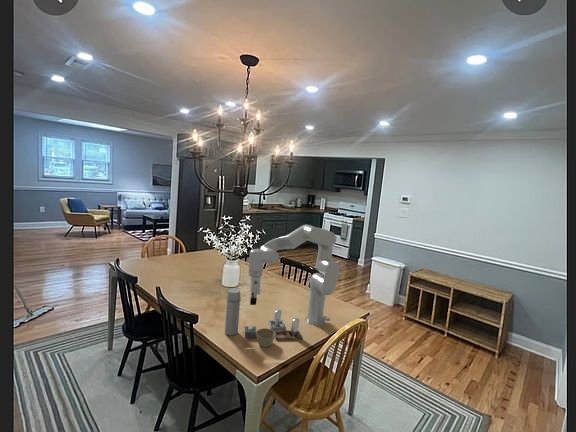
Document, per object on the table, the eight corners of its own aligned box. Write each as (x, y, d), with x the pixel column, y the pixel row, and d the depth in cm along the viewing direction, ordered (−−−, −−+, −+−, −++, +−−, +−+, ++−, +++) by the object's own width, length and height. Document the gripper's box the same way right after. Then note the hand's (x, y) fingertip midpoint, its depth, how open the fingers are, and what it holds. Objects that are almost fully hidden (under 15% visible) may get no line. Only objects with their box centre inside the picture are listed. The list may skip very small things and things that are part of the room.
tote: (282, 324, 186) (282, 320, 186) (284, 331, 178) (284, 327, 178) (268, 324, 184) (269, 320, 184) (270, 331, 177) (270, 327, 176)
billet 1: (279, 325, 184) (280, 309, 182) (280, 328, 180) (281, 312, 178) (272, 325, 183) (274, 309, 181) (273, 328, 179) (275, 312, 178)
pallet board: (298, 334, 176) (299, 330, 176) (301, 341, 169) (301, 337, 169) (273, 335, 173) (274, 330, 173) (275, 342, 166) (276, 337, 166)
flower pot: (269, 353, 156) (270, 340, 155) (251, 347, 159) (252, 334, 158) (277, 343, 165) (278, 331, 164) (260, 338, 168) (261, 326, 167)
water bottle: (221, 331, 172) (224, 289, 168) (234, 328, 176) (237, 286, 173) (229, 339, 164) (232, 295, 161) (242, 335, 169) (245, 293, 165)
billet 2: (296, 334, 174) (298, 317, 172) (298, 338, 170) (300, 321, 168) (289, 334, 173) (291, 317, 172) (291, 338, 169) (292, 321, 168)
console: (255, 333, 173) (255, 326, 173) (256, 338, 168) (256, 332, 167) (244, 333, 172) (245, 326, 172) (245, 339, 166) (245, 332, 166)
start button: (253, 331, 171) (253, 326, 171) (253, 334, 169) (253, 329, 168) (247, 331, 171) (248, 326, 170) (247, 334, 168) (248, 329, 167)
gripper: (263, 277, 158) (261, 310, 161) (261, 267, 172) (258, 298, 175) (249, 277, 156) (246, 310, 159) (247, 267, 171) (245, 298, 174)
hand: (253, 304), depth 167 cm, fingers closed
